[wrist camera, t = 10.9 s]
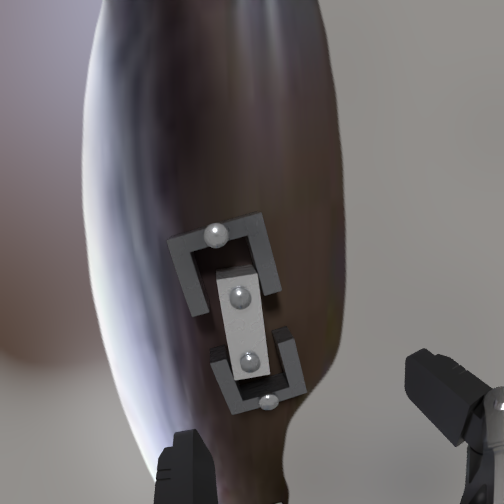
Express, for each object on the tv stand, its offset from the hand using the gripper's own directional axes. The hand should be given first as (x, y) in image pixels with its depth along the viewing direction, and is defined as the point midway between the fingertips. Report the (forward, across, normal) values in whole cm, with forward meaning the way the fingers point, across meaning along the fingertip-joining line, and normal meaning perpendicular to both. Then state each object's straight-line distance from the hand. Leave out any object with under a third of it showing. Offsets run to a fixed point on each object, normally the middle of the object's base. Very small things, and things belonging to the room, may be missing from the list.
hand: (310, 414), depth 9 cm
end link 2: (+19, +1, +10) cm, 22 cm away
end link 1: (+20, +2, -2) cm, 20 cm away
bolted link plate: (+20, +1, +4) cm, 20 cm away
